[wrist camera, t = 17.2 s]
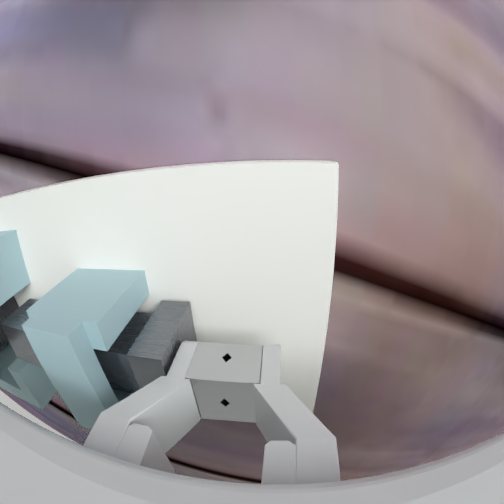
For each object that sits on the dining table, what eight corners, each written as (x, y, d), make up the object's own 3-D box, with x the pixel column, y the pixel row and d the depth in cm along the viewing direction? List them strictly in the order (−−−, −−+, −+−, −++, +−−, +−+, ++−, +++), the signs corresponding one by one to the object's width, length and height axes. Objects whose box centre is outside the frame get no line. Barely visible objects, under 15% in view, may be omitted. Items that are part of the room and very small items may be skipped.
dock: (331, 160, 8) (391, 182, 4) (310, 405, 12) (314, 491, 8) (-40, 209, 10) (-92, 235, 6) (10, 352, 14) (-24, 390, 10)
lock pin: (189, 301, 9) (161, 359, 6) (200, 360, 10) (181, 419, 7) (29, 288, 10) (-10, 320, 7) (48, 335, 11) (16, 370, 8)
